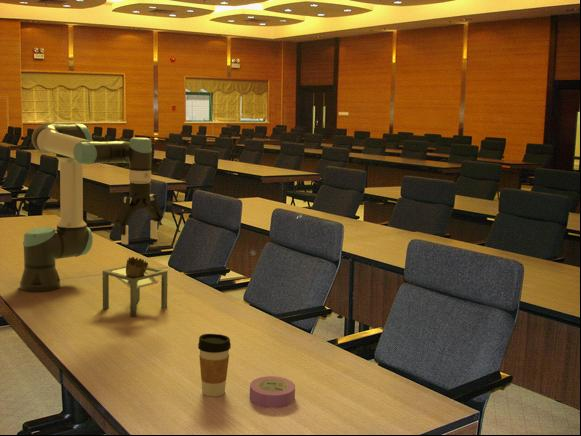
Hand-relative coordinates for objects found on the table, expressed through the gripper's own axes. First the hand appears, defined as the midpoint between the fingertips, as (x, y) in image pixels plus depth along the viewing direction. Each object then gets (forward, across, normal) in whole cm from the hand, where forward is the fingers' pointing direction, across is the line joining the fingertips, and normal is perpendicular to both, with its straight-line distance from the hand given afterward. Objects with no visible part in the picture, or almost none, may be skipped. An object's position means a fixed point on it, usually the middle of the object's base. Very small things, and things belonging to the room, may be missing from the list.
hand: (139, 241), depth 242 cm
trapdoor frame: (+25, 0, +2) cm, 25 cm away
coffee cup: (+24, -36, -69) cm, 81 cm away
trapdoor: (+14, 0, +2) cm, 14 cm away
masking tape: (+24, -29, -83) cm, 91 cm away
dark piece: (+14, -4, -1) cm, 15 cm away
